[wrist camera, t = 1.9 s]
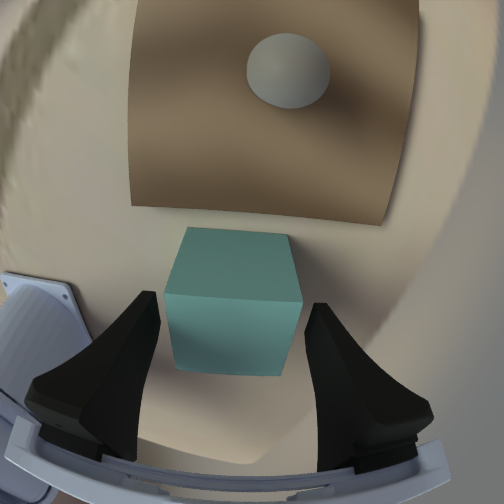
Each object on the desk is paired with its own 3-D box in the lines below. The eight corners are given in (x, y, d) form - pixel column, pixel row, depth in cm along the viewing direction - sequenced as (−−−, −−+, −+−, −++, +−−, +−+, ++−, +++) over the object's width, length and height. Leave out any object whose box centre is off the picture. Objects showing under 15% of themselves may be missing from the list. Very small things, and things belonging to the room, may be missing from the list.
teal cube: (272, 306, 17) (280, 376, 12) (190, 301, 16) (176, 369, 12) (286, 234, 14) (303, 302, 10) (187, 227, 14) (163, 293, 9)
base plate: (373, 217, 13) (408, 260, 10) (138, 197, 13) (104, 238, 9) (408, 4, 7) (457, -11, 4) (153, -32, 6) (121, -66, 3)
